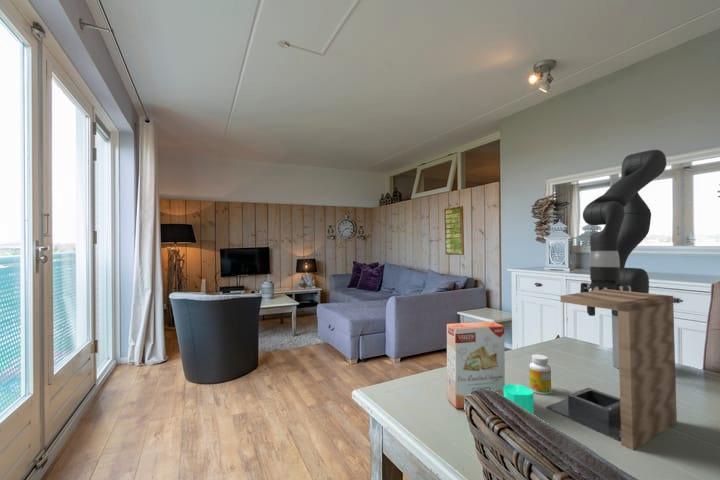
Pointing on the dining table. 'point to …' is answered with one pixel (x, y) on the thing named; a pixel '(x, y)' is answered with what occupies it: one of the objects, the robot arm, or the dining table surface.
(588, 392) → the socket
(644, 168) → the robot arm
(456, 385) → the cracker box
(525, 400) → the candle
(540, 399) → the dining table surface
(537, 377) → the supplement bottle
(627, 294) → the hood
